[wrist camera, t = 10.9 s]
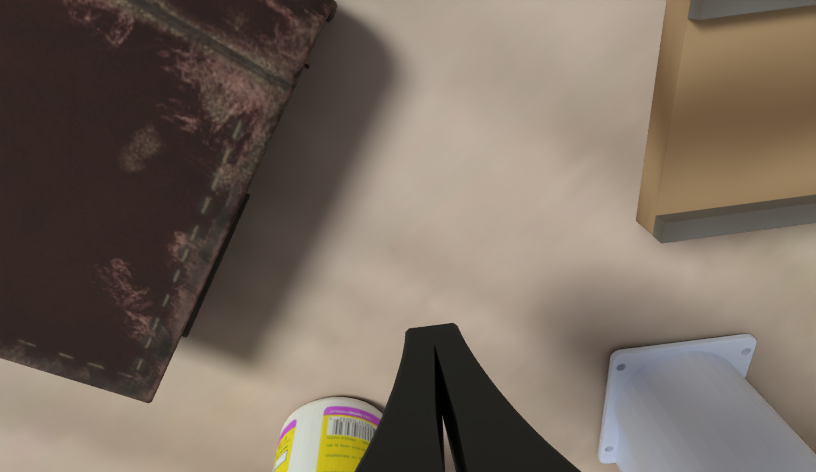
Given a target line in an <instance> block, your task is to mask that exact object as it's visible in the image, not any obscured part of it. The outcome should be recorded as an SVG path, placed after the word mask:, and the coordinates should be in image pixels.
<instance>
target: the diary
mask: <svg viewBox="0 0 816 472" xmlns="http://www.w3.org/2000/svg"><path fill="white" fill-rule="evenodd" d="M336 8H337V3H336V1H334V0H0V358H2V359H5V360H8V361H12V362H15V363H18V364H22V365H25V366H28V367H31V368H35V369H38V370H41V371H45V372H48V373H51V374H54V375H58V376H61V377H64V378H68V379H71V380H74V381H77V382H81V383H84V384H87V385H91V386H94V387H97V388H100V389H104V390H107V391H110V392H114V393H117V394H120V395H123V396H127V397H130V398H133V399H136V400H140V401H143V402H146V403H150V402H152V400H153V398H154V396H155V393H156V391H157V389H158V387H159V385H160V382H161V380H162V378H163V376H164V373H165V371H166V369H167V367H168V365H169V362H170V360H171V358H172V356H173V353H174V351H175V349H176V347H177V345H178V342H179V340H180V338H181V336H183V337H187V336H188V334H189V332H190V329H191V327H192V325H193V323H194V320H195V318H196V316H197V314H198V311H199V309H200V307H201V305H202V302H203V300H204V298H205V296H206V293H207V291H208V289H209V287H210V284H211V282H212V280H213V278H214V275H215V273H216V271H217V269H218V266H219V264H220V262H221V260H222V257H223V255H224V253H225V251H226V248H227V246H228V244H229V242H230V239H231V237H232V235H233V233H234V230H235V228H236V226H237V224H238V221H239V219H240V217H241V215H242V212H243V210H244V208H245V205H246V203H247V201H248V199H249V196H250V195H249V194H247V193H246V192H247V190H248V188H249V186H250V184H251V181H252V179H253V177H254V175H255V173H256V170H257V168H258V166H259V164H260V162H261V159H262V157H263V155H264V153H265V151H266V149H267V146H268V144H269V142H270V140H271V138H272V135H273V133H274V131H275V129H276V127H277V124H278V122H279V120H280V118H281V116H282V114H283V111H284V109H285V107H286V105H287V103H288V100H289V98H290V96H291V94H292V92H293V90H294V88H295V86H296V83H297V81H298V78H299V76H300V74H301V72H302V70H303V67H306V68H307V69H308V68H309V65H308V64H306V61H307V59H308V56H309V54H310V52H311V50H312V48H313V45H314V43H315V41H316V39H317V36H318V34H319V32H320V30H321V28H322V26H323V24H324V23H325V21H326V22H330V21H331V20H332V19H333V18H334V14H335V11H336Z"/></svg>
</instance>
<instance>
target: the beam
mask: <svg viewBox="0 0 816 472" xmlns="http://www.w3.org/2000/svg"><path fill="white" fill-rule="evenodd" d="M636 221H637V222H638V223H639V224H640V225H641V226H642V227H644V228H645V229H646V230H647V231H648V232H649V233H650V234H652V235H653V236H654V237H655V238H656V239H657V240H658V241H660V242H661V243H668V242H675V241H682V240H690V239H697V238H705V237H712V236H720V235H727V234H735V233H742V232H750V231H757V230H765V229H772V228H780V227H787V226H795V225H802V224H810V223H816V0H667V1H666V8H665V15H664V22H663V29H662V36H661V44H660V51H659V58H658V65H657V72H656V80H655V87H654V94H653V101H652V108H651V116H650V123H649V130H648V137H647V144H646V151H645V159H644V166H643V173H642V180H641V187H640V195H639V202H638V209H637V216H636Z"/></svg>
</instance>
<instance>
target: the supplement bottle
mask: <svg viewBox="0 0 816 472" xmlns="http://www.w3.org/2000/svg"><path fill="white" fill-rule="evenodd" d="M382 415H383V414H382V413H381V412H380V411H379V410H377V409H376V408H375V407H373V406H371V405H370V404H368V403H366V402H363V401H360V400H357V399H353V398H347V397H329V398H323V399H319V400H315V401H312V402H310V403H307V404H305V405H303V406H302V407H300V408H298V409H297V410H296V411H294V412H293V413H292V414H291V415H290V416H289V418H288V419H287V420H286V422H285V424H284V426H283V428H282V431H281V435H280V439H279V443H278V448H277V452H276V457H275V462H274V467H273V471H272V472H354V471H355V470H356V468H357V466H358V464H359V462H360V460H361V459H362V457H363V455H364V453H365V451H366V449H367V447H368V445H369V443H370V441H371V439H372V437H373V435H374V433H375V431H376V429H377V427H378V424H379V422H380V420H381V418H382Z"/></svg>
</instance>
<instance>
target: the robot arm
mask: <svg viewBox="0 0 816 472" xmlns="http://www.w3.org/2000/svg"><path fill="white" fill-rule="evenodd" d="M756 344H757V340H756V339H755V338H754V337H753V336H752V335H750V334H741V335H733V336H725V337H717V338H709V339H701V340H693V341H685V342H677V343H669V344H661V345H653V346H645V347H637V348H629V349H621V350H617V351H615V352H614V353H613V354H612V355H611V357H610V364H609V372H608V380H607V387H606V395H605V403H604V410H603V418H602V426H601V433H600V441H599V449H598V458H599V460H600V462H601V463H604V464H608V463H617V465H618V467H619V469H620V471H621V472H816V454H815V453H814V452H813V451H812V450H811V449H810V448H809V447H808V445H807V444H806V443H805V442H804V441H803V440H802V439H801V438H800V437H799V436H798V435H797V434H796V433H795V432H794V431H793V429H792V428H791V427H790V426H789V425H788V424H787V423H786V422H785V421H784V420H783V419H782V418H781V417H780V416H779V415H778V413H777V412H776V411H775V410H774V409H773V408H772V407H771V406H770V405H769V404H768V403H767V402H766V401H765V400H764V399H763V397H762V396H761V395H760V394H759V393H758V392H757V391H756V390H755V389H754V388H753V387H752V386H751V385H750V384H749V383H748V381H747V380H746V379H745V377H746V374H747V371H748V368H749V365H750V362H751V359H752V356H753V353H754V350H755V347H756ZM620 364H621V365H620ZM618 365H619V366H618ZM442 416H443V418H442ZM443 420H444V424H445V428H446V432H447V436H448V441H449V445H450V449H451V453H452V457H453V461H454V465H455V469H456V472H581V471H580V470H579V469H577V468H576V467H575V466H574V465H573V464H572V463H570V462H569V461H568V460H567V459H566V458H565V457H563V456H562V455H561V454H560V453H559V452H558V451H557V450H555V449H554V448H553V447H552V446H551V445H550V444H549V443H548V442H547V441H545V440H544V439H543V438H542V437H541V436H540V435H539V434H538V433H537V432H536V431H535V430H534V429H533V428H532V427H531V426H530V425H529V424H528V423H527V422H526V421H525V420H524V419H523V417H522V416H521V415H520V414H519V413H518V412H517V411H516V410H515V409H514V408H513V406H512V405H511V404H510V403H509V402H508V401H507V399H506V398H505V397H504V396H503V395H502V393H501V392H500V391H499V390H498V389H497V387H496V386H495V385H494V383H493V382H492V381H491V380H490V378H489V377H488V375H487V374H486V373H485V371H484V370H483V368H482V367H481V366H480V364H479V363H478V361H477V360H476V358H475V357H474V355H473V354H472V352H471V351H470V349H469V347H468V346H467V344H466V342H465V340H464V339H463V337H462V335H461V333H460V331H459V328H458V326H457V325H456V324H454V323H449V324H441V325H433V326H425V327H417V328H409V329H408V330H407V331H406V332H405V344H404V350H403V354H402V359H401V363H400V367H399V370H398V373H397V376H396V380H395V383H394V386H393V389H392V392H391V395H390V397H389V400H388V402H387V405H386V408H385V410H384V413H383V415H382V418H381V420H380V422H379V424H378V427H377V429H376V431H375V433H374V435H373V437H372V439H371V441H370V443H369V445H368V447H367V449H366V451H365V453H364V455H363V457H362V459H361V460H360V462H359V464H358V466H357V468H356V470H355V471H354V472H445V459H444V439H443Z"/></svg>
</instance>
